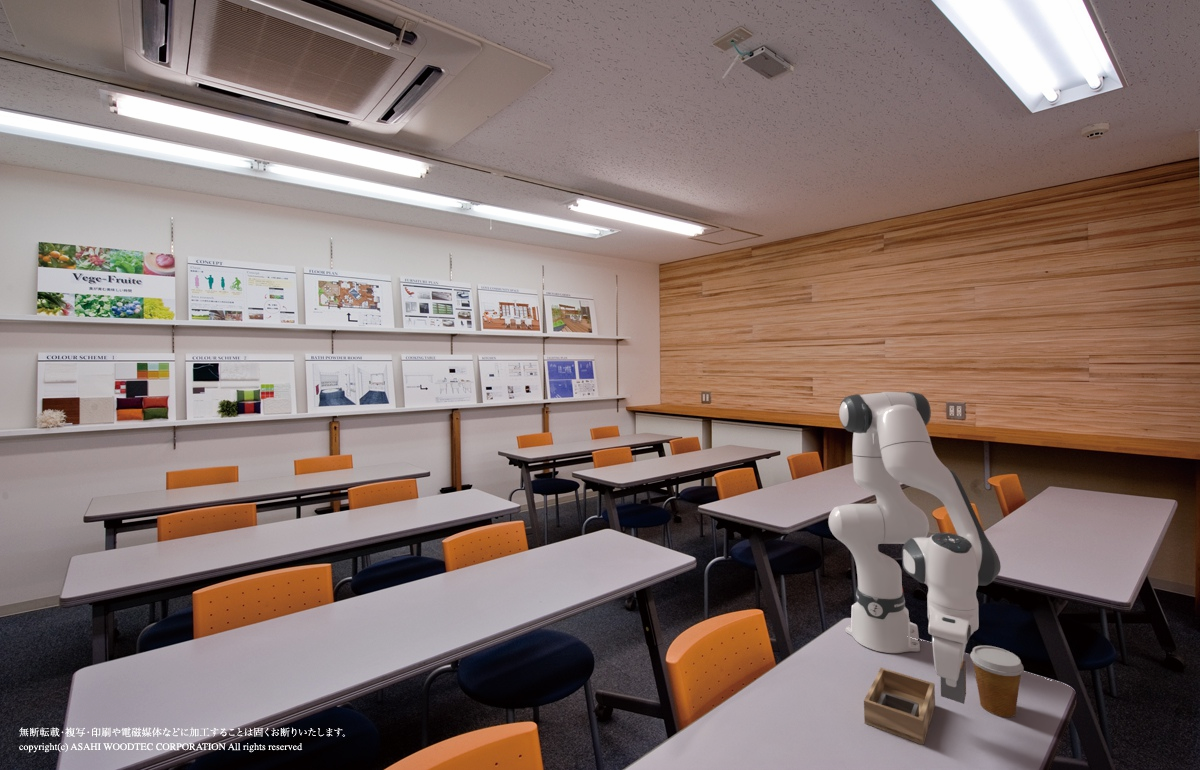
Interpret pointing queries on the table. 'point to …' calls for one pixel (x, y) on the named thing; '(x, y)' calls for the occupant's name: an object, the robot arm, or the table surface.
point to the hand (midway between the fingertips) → (953, 678)
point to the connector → (960, 689)
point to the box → (900, 705)
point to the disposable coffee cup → (997, 679)
